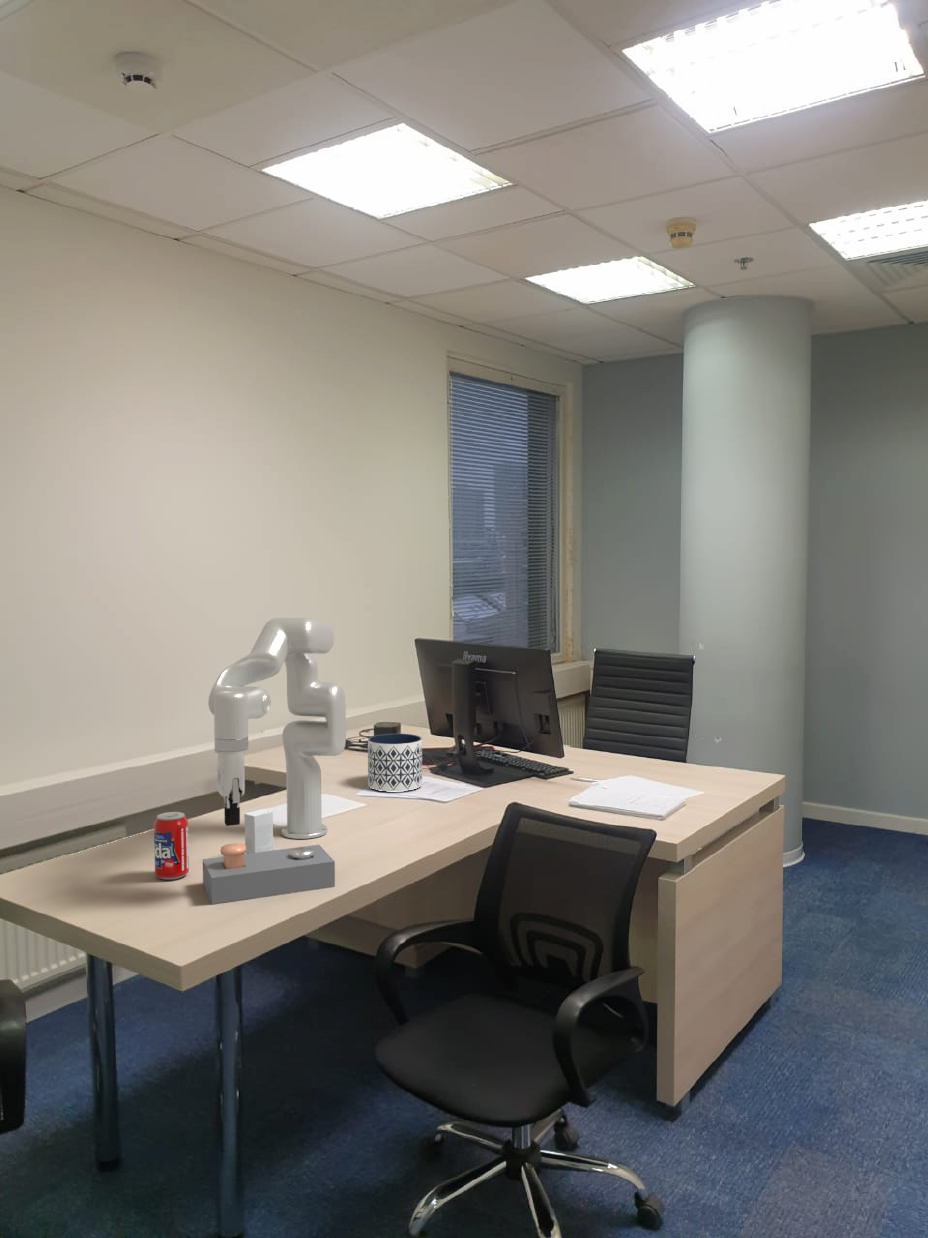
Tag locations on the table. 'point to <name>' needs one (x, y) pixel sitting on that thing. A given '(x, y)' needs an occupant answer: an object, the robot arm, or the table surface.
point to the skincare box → (258, 831)
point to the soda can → (171, 846)
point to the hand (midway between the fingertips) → (232, 824)
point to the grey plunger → (301, 853)
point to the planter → (394, 762)
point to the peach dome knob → (233, 855)
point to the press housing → (267, 875)
